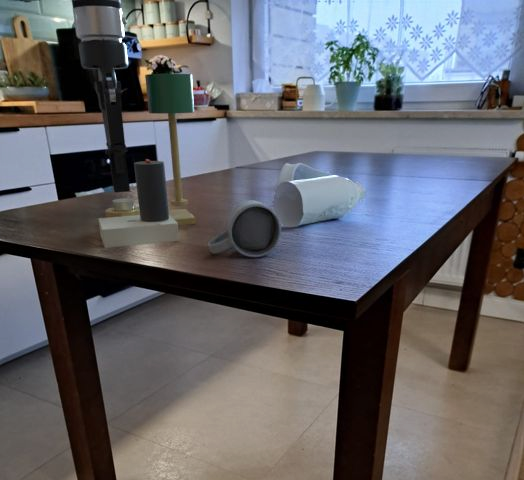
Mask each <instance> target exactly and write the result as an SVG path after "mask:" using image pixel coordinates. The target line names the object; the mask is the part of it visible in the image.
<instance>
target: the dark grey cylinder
mask: <svg viewBox="0 0 524 480" xmlns="http://www.w3.org/2000/svg"><path fill="white" fill-rule="evenodd" d="M133 168H134V176H135V185H136V186H135V187H136V194H137V202H138V207H139V211H140V220H141V221H145V222H159V221H165V220H168V219H169V200H168V190H167V189H168V188H167V181H166V180H167V179H166V178H167V177H166V170H165V169H166V167H165V161H163V160H162V161H161V160H150V159H149V158H145V160H144V161H143V160H142V161H136V162H133Z"/></svg>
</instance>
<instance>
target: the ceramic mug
mask: <svg viewBox="0 0 524 480" xmlns="http://www.w3.org/2000/svg"><path fill="white" fill-rule="evenodd" d="M281 236H282V223H281V222H280V220H279V218H278V216H277V214H276V213H275V211H274V209H272V208H271V207H269V206H268V205H266V204H264V203H263V202H261V201H258V200H254V199H248V200H243V201H241V202H239V203H238V204H236V205H235V206H234V207H233V208H232V209H231V211H230V213H229V215H228V217H227V230H224V231H223V232H221V233H219V234H217V235H216V236H214V237H213V238H211V239H210V240H209V241H208V243H207V248H208V249H209V251H210V253H211V254H213V255H217V254H221V253H224V252H226V251H228V250H230V249H232V248H234V250H236V251H237V252H238V253H239V254H240V255H242V256H244V257H247V258H262V257H264V256H267V255H270V253H272V252H273V251H274V250H275V248H276V247H277V246H278V244H279V242H280V239H281Z"/></svg>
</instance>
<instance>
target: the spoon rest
mask: <svg viewBox="0 0 524 480" xmlns="http://www.w3.org/2000/svg"><path fill="white" fill-rule="evenodd" d="M330 173H331V172H329V171H322V170H319V169H316V168H314V167H311V166H309V165H308V164H304V163H301V162H299V163H295V164H291V163H285V164H284V165H283V166H282V168H281V169H280V172H279V175H278V177H277V180H276V184H275V187H276V186H278V185H279V184H280V183H283V182H288V181H296V180H305V179H313V178H319V177H326V176H330V175H331V174H330ZM274 190H275V191H274V194H275V193H276V188H275V189H274Z"/></svg>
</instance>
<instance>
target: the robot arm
mask: <svg viewBox="0 0 524 480" xmlns="http://www.w3.org/2000/svg"><path fill="white" fill-rule="evenodd" d="M8 1H9V2H23V3H32V2H38V1H40V0H8ZM71 5H72V14H73V20H74V28H75V36H76V37H77V38H78V39H79V40H80V41H81V42H79V43H78V45H77V46H78V52H79V58H80V65H81V67H82V68H83V69H86V70H97V74H98V75H97V76H98V81H97V80H95V82H94V89H95V92H96V94H97V98H98V105H99V109H100V110H101V113H102V114H101V115H102V121H103V128H104V133H105V140H106V143H105V145H106V147H107V149H106V150H105V151H104V152H105V155H108V158H109V165H110V172H111V180H112V187H113V192H114V193H127V192H131V189H130V187H131V186H130V179H129V172H128V165H127V157H126V153H127V152H128V148H127V145H126V140H125V131H124V130H125V129H124V121H123V120H124V119H123V111H122V109H123V103H122V91H123V90H122V83H121V81H120V80H117V77H116V72H115V70H124V69H127V68H128V67H129V58H128V57H129V56H128V49H127V45H126V44H125V42H123V41H122V40H123V39H124V38H125V37H126V35H125V27H124V25H127V23H128V19H127V18H126V17H125V16H122V15H123V10H122V8H123V7H122V1H121V0H71Z"/></svg>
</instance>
